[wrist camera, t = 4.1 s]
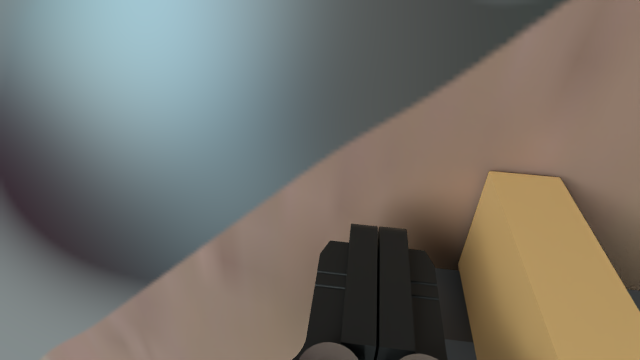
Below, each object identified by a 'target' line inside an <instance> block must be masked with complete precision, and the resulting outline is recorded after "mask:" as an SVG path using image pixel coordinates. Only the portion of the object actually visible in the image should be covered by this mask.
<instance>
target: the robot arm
mask: <svg viewBox="0 0 640 360" xmlns="http://www.w3.org/2000/svg"><path fill="white" fill-rule="evenodd" d="M292 360H448V358H447V353H446V346H445V339H444V331H443V324H442V317H441V309H440V302H439V295H438V287H437V280H436V272H435V266H434V265H433V263H432V262H431V260H430V258H429V257H428V255H427V254H426V252H425V251H421V250H412V249H408V239H407V230H406V229H398V228H388V227H379V230H378V228H377V226H368V225H359V224H351V230H350V240H349V243H347V242H337V241H330V242H329V243H328V244H327V246H326V247H325V248H324V250H323V251H322V252H321V253H320V258H319V264H318V270H317V276H316V282H315V289H314V295H313V301H312V307H311V313H310V319H309V325H308V331H307V337H306V341H305V344H304V346H303V348H302V349H301V351H300V352H299V353H298V355H297V356H296V357H295V358H293V359H292Z"/></svg>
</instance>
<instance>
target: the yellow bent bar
mask: <svg viewBox="0 0 640 360" xmlns="http://www.w3.org/2000/svg"><path fill="white" fill-rule="evenodd" d="M458 267H459V272H460V277H461V282H462V287H463V292H464V297H465V302H466V307H467V312H468V317H469V322H470V327H471V332H472V337H473V342H474V347H475V353H476V358H477V360H640V311H639V310H638V308H637V306H636V305H635V303H634V301H633V300H632V298H631V296H630V294H629V293H628V291H627V289H626V288H625V286H624V284H623V283H622V281H621V279H620V278H619V276H618V274H617V273H616V271H615V269H614V268H613V266H612V264H611V263H610V261H609V259H608V257H607V256H606V254H605V252H604V251H603V249H602V247H601V246H600V244H599V242H598V241H597V239H596V237H595V236H594V234H593V232H592V231H591V229H590V227H589V226H588V224H587V222H586V220H585V219H584V217H583V215H582V214H581V212H580V210H579V209H578V207H577V205H576V204H575V202H574V200H573V199H572V197H571V195H570V194H569V192H568V190H567V188H566V187H565V185H564V183H563V182H562V180H561V178H560V177H549V176H538V175H527V174H516V173H505V172H494V171H489V173H488V176H487V179H486V182H485V185H484V188H483V191H482V194H481V197H480V200H479V203H478V206H477V209H476V212H475V215H474V218H473V221H472V224H471V227H470V230H469V233H468V236H467V239H466V242H465V245H464V248H463V251H462V254H461V257H460V260H459V263H458Z"/></svg>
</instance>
